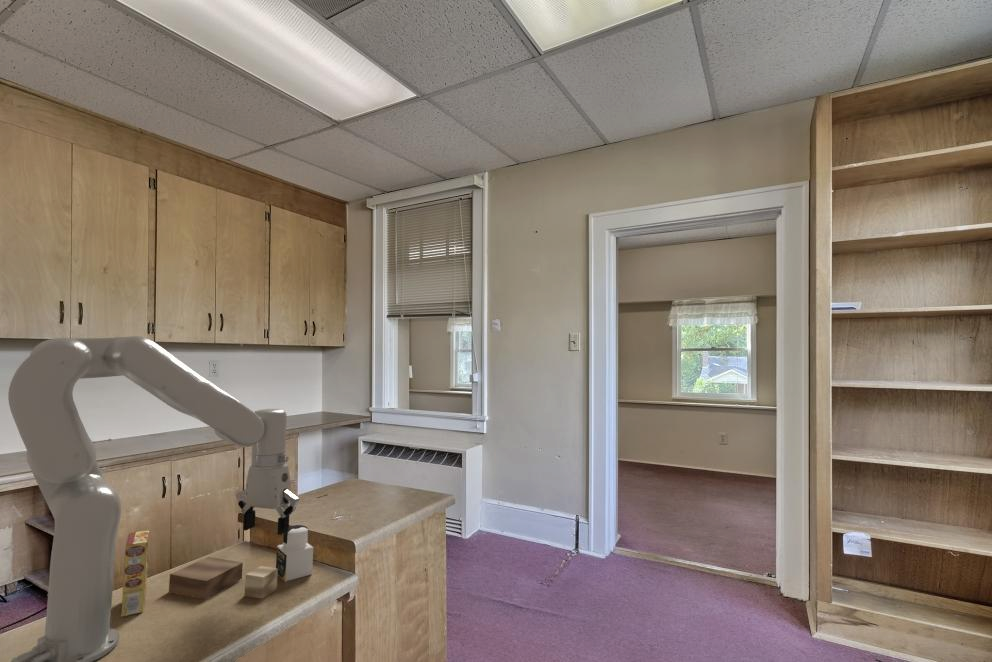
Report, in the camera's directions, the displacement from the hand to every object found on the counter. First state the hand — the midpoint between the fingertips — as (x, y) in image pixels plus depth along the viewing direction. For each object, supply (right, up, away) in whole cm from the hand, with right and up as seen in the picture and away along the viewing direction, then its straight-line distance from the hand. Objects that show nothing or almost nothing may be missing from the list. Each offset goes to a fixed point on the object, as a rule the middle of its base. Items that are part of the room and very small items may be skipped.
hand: (265, 530), depth 118 cm
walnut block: (-15, -15, +1) cm, 21 cm away
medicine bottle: (+3, -15, +9) cm, 18 cm away
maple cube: (-1, -15, -1) cm, 15 cm away
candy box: (-25, -14, -9) cm, 30 cm away
